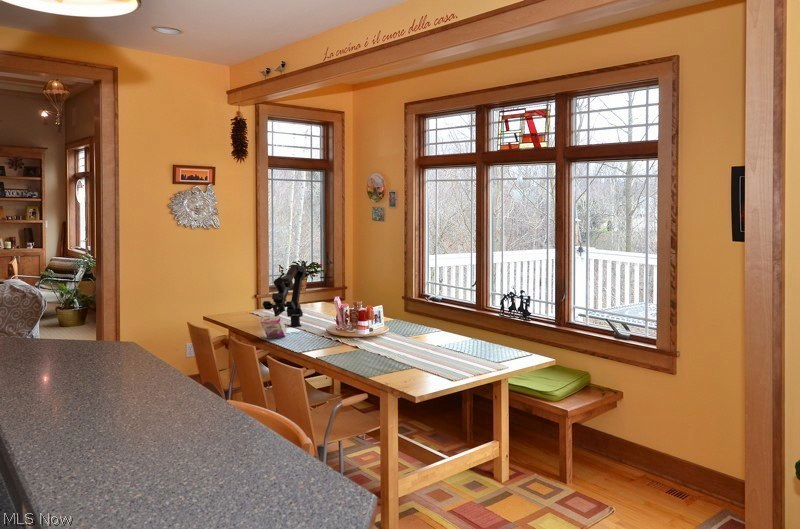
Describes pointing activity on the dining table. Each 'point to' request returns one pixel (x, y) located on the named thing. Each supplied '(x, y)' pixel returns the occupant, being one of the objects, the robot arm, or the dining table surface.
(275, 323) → the candy bar box
